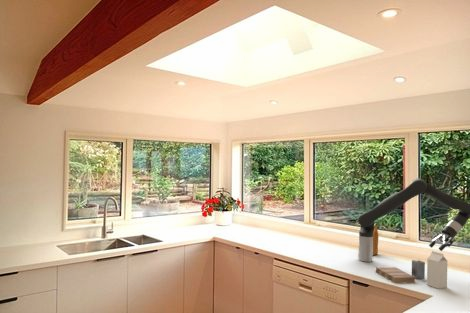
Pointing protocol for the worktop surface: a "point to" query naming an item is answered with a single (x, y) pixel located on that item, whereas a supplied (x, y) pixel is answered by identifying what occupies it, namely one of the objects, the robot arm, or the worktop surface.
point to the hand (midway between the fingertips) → (434, 248)
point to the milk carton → (437, 270)
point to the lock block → (418, 269)
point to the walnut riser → (395, 274)
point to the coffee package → (375, 241)
